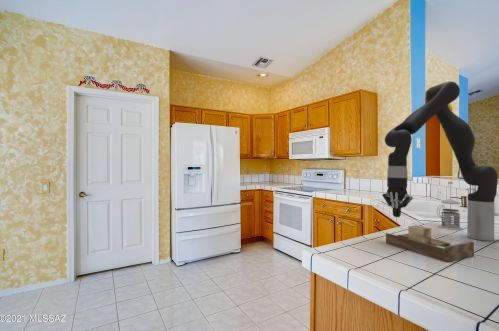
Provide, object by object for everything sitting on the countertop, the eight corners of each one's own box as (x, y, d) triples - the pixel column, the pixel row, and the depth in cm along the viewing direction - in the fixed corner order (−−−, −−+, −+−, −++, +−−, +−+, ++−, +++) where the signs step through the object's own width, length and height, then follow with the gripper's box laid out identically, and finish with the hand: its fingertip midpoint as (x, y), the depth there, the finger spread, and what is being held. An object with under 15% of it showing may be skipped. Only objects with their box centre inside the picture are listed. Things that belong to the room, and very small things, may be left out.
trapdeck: (410, 238, 117) (410, 227, 117) (474, 255, 95) (474, 242, 95) (385, 242, 110) (386, 231, 110) (447, 262, 88) (448, 247, 88)
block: (417, 239, 107) (417, 225, 107) (431, 243, 102) (431, 228, 102) (408, 241, 105) (408, 226, 105) (421, 245, 99) (422, 229, 99)
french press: (467, 230, 133) (467, 182, 134) (444, 230, 134) (444, 182, 134) (452, 225, 143) (452, 181, 143) (431, 225, 143) (431, 180, 144)
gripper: (418, 177, 106) (417, 219, 106) (389, 176, 119) (388, 213, 119) (406, 177, 103) (405, 220, 103) (377, 176, 116) (377, 214, 115)
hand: (396, 216), depth 111 cm, fingers closed
